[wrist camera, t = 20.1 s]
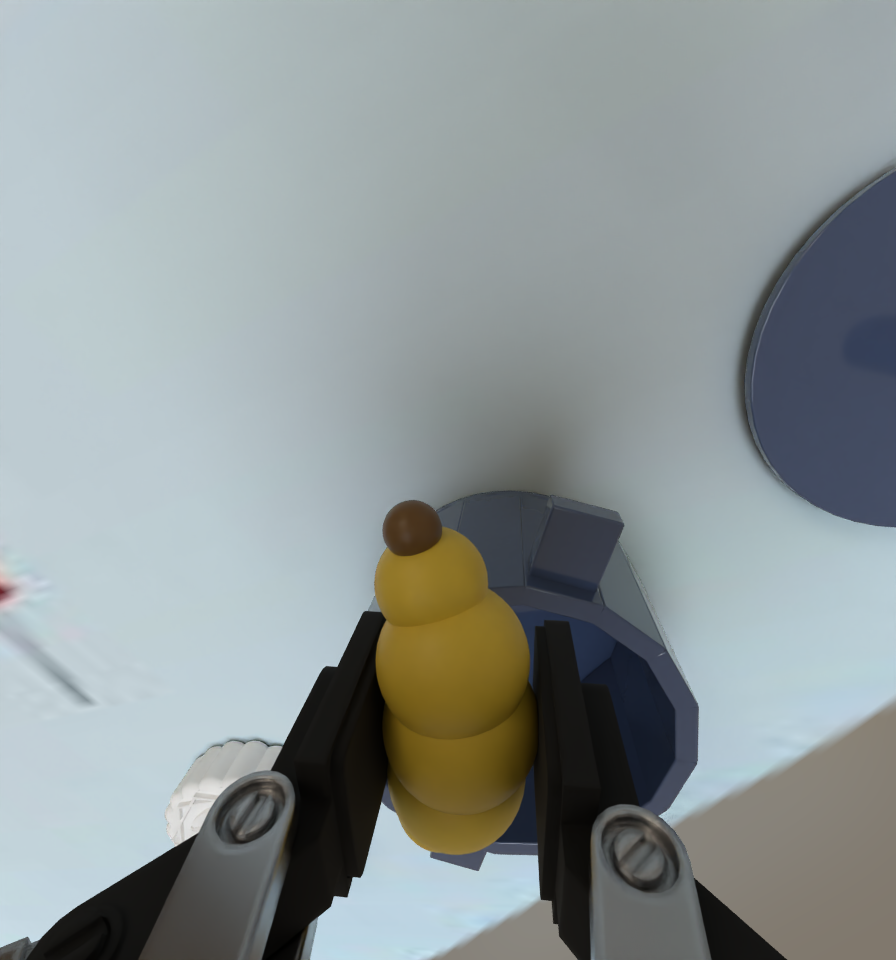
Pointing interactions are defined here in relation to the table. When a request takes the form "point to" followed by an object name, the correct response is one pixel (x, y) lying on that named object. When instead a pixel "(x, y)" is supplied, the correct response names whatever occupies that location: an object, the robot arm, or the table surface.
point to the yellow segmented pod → (450, 687)
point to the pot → (583, 636)
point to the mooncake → (213, 783)
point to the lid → (833, 364)
